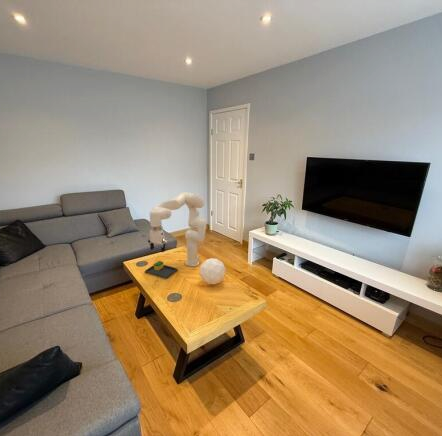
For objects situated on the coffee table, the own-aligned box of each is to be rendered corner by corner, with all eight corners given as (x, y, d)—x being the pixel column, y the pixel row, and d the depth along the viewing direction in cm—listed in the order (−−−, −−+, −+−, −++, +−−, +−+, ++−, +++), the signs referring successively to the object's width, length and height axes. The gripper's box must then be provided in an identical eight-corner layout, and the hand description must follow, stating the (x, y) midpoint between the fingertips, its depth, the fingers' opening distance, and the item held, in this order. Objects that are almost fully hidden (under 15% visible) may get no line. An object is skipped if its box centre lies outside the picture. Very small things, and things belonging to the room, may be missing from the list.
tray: (157, 265, 206) (157, 262, 205) (177, 270, 197) (177, 268, 196) (144, 273, 192) (144, 270, 192) (166, 279, 183) (166, 277, 183)
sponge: (159, 266, 203) (159, 260, 202) (163, 267, 201) (163, 261, 200) (154, 269, 197) (153, 264, 196) (158, 270, 195) (157, 265, 194)
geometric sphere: (206, 291, 179) (190, 272, 175) (218, 273, 192) (203, 255, 188) (222, 289, 165) (205, 269, 161) (234, 269, 179) (219, 250, 175)
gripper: (169, 227, 163) (170, 250, 167) (149, 224, 170) (151, 246, 175) (163, 231, 156) (164, 254, 161) (142, 227, 163) (144, 250, 168)
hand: (157, 250), depth 168 cm, fingers open, 9 cm apart
